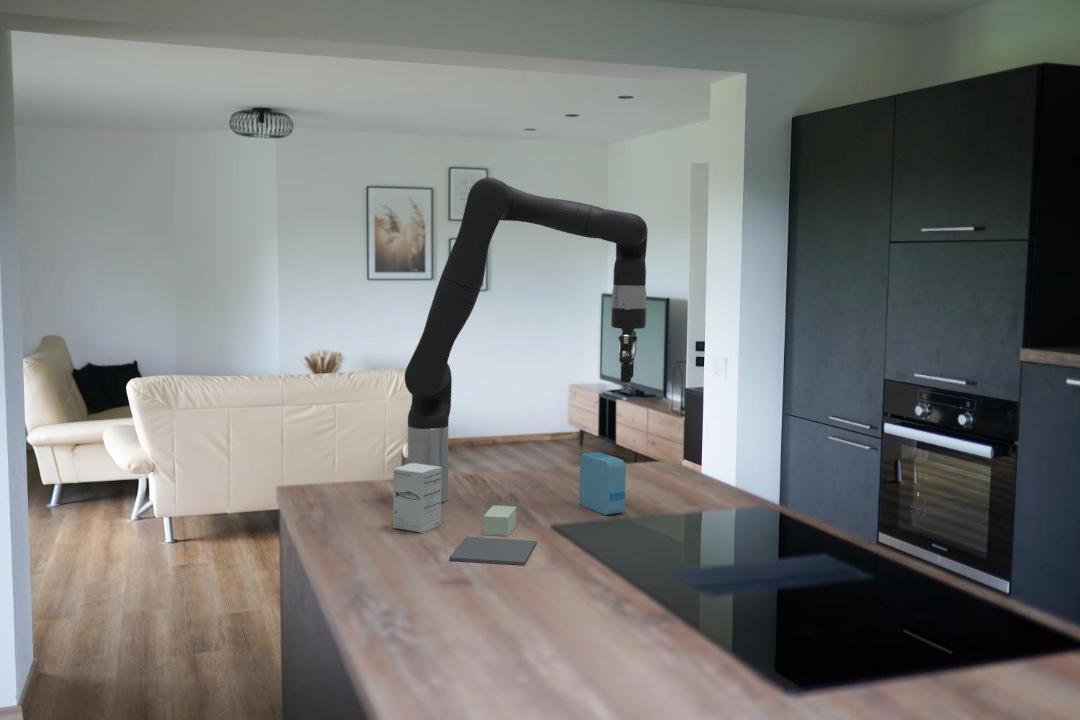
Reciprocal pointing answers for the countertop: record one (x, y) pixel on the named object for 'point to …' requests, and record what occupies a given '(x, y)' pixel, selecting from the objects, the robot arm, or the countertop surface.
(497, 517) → the box
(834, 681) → the countertop surface
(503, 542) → the mat
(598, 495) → the blue box
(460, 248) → the robot arm
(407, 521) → the supplement box
